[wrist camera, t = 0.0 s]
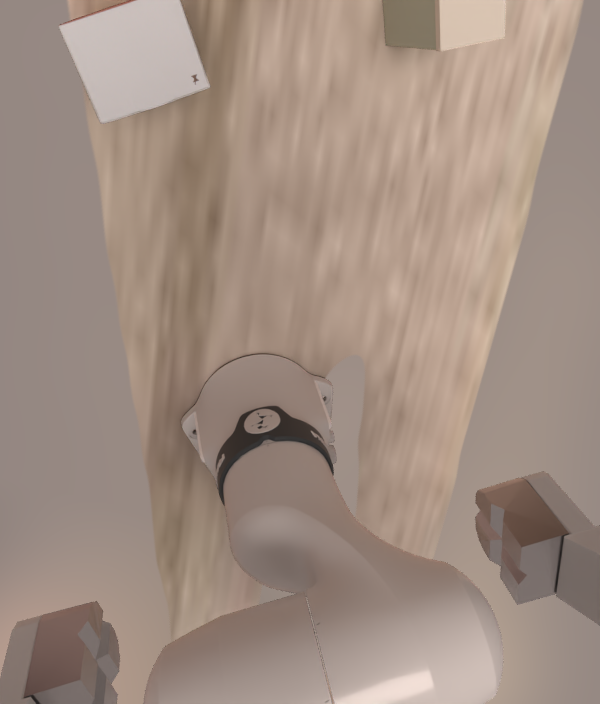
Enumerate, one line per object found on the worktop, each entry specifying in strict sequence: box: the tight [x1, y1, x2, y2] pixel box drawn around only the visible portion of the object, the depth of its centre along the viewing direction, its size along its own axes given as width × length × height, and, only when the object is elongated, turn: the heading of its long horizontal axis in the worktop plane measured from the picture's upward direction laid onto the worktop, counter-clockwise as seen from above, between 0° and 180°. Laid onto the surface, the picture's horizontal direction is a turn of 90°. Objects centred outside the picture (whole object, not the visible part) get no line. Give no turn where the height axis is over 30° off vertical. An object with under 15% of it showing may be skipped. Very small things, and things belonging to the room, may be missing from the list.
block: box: [383, 0, 506, 51], centre depth 45 cm, size 5×5×12 cm
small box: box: [59, 0, 210, 124], centre depth 42 cm, size 8×6×13 cm
